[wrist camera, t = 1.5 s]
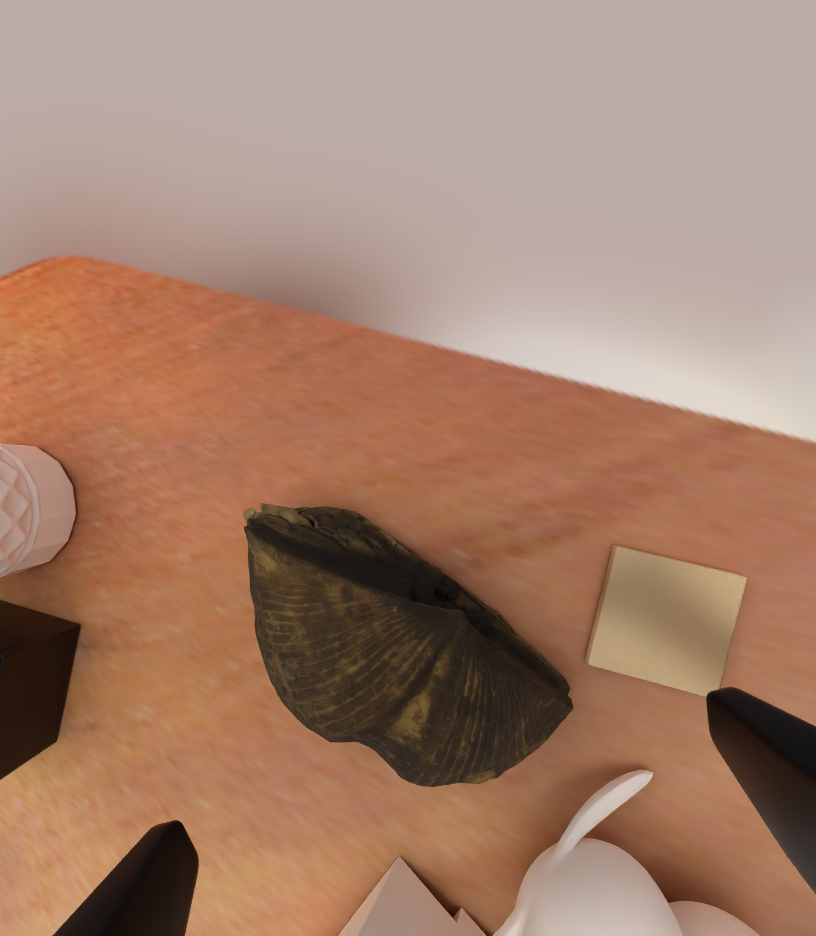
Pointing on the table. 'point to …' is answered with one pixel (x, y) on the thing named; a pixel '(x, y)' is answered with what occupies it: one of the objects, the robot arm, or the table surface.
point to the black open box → (32, 681)
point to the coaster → (665, 620)
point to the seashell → (393, 650)
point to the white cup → (32, 508)
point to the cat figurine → (605, 886)
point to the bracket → (406, 910)
